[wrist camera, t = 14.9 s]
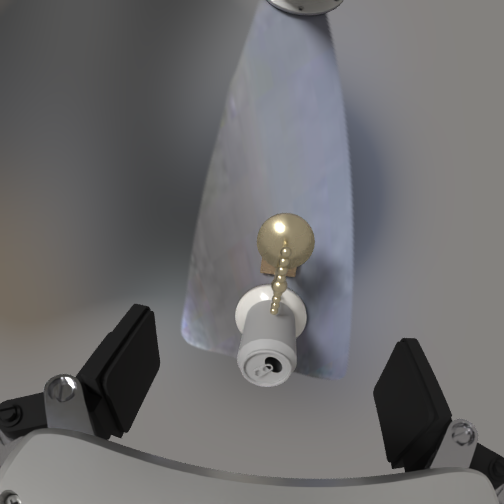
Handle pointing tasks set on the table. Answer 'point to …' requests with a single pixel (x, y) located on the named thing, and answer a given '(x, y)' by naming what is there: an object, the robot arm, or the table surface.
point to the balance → (283, 250)
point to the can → (268, 345)
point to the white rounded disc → (266, 293)
